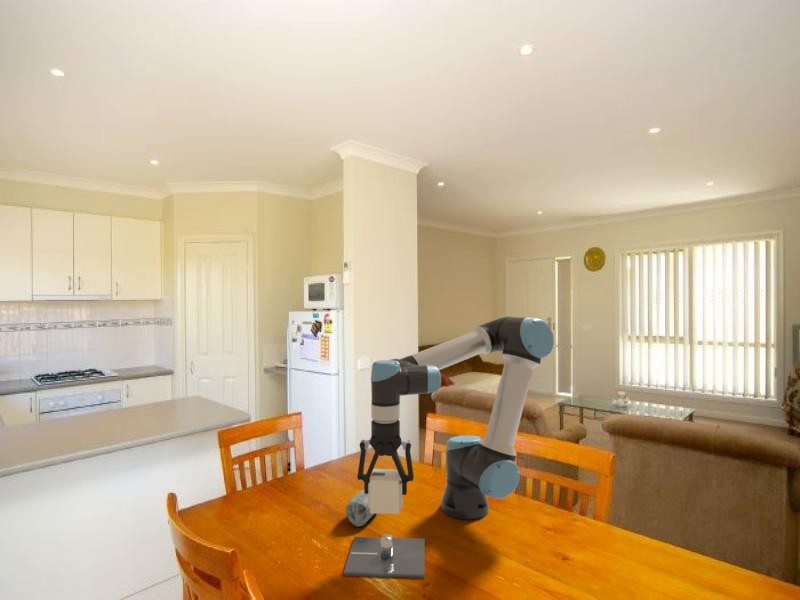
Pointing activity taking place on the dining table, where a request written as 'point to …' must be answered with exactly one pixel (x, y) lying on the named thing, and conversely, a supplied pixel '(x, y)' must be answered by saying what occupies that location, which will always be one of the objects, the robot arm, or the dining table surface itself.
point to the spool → (358, 509)
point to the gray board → (386, 557)
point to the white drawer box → (384, 491)
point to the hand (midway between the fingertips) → (385, 505)
